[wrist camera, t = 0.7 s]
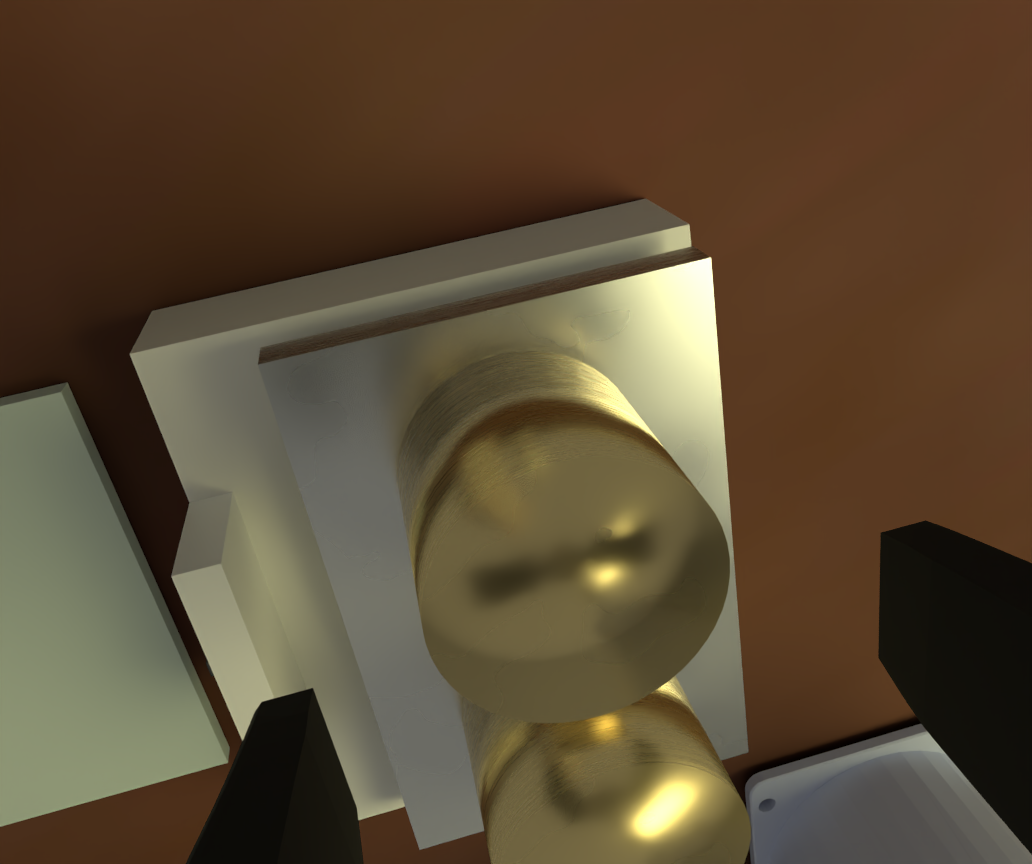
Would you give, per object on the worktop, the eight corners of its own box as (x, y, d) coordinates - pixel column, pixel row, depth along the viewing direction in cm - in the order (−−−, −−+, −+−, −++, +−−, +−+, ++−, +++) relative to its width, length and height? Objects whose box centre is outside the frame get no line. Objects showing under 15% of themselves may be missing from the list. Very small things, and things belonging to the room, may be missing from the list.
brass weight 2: (678, 746, 20) (757, 909, 16) (484, 803, 19) (521, 983, 16) (657, 587, 18) (743, 733, 14) (441, 646, 17) (473, 812, 14)
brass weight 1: (651, 537, 17) (739, 676, 14) (427, 597, 17) (458, 757, 13) (624, 324, 15) (718, 421, 12) (369, 386, 15) (386, 506, 11)
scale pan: (723, 709, 22) (748, 752, 20) (413, 799, 21) (419, 850, 19) (680, 238, 16) (711, 257, 15) (262, 335, 15) (258, 364, 14)
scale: (694, 648, 24) (776, 788, 20) (314, 755, 23) (315, 927, 19) (645, 198, 18) (746, 258, 14) (144, 313, 17) (88, 414, 13)
